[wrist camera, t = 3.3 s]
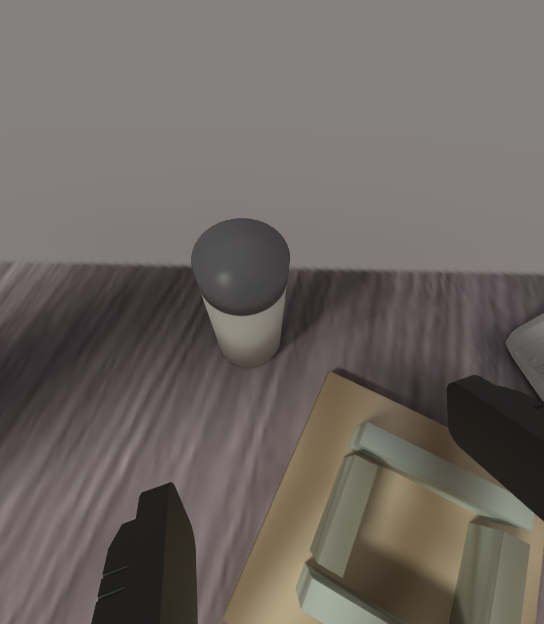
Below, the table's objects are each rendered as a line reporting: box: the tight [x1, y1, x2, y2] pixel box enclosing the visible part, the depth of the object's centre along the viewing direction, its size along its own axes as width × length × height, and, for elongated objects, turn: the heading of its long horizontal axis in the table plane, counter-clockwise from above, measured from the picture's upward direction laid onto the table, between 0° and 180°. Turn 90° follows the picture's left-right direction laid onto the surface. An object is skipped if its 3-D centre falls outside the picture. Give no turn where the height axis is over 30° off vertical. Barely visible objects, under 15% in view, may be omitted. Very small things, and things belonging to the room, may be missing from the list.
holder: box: [222, 371, 544, 624], centre depth 17 cm, size 14×14×4 cm
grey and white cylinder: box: [191, 218, 290, 368], centre depth 19 cm, size 4×4×10 cm
